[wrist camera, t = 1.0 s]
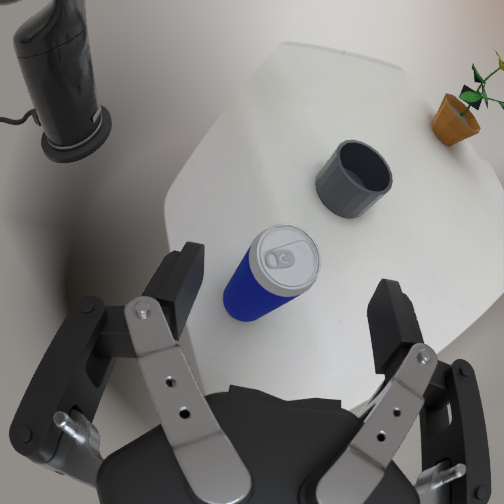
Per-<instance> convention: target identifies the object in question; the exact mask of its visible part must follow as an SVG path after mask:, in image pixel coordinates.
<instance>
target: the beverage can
mask: <svg viewBox="0 0 504 504" xmlns="http://www.w3.org/2000/svg"><path fill="white" fill-rule="evenodd" d="M320 267H321V256H320V251H319V249H318V246H317V244H316V242H315V241H314V239H313V238H312V237H311V236H310V235H309V234H308V233H307V232H306V231H304V230H303V229H301V228H299V227H297V226H294V225H290V224H280V225H276V226H273V227H271V228H269V229H266V230H264V231H263V232H261V233H260V234H259V235H258V236H257V237H256V238H255V239H254V241H253V243H252V244H251V246H250V248H249V249H248V251H247V253H246V254H245V256H244V258H243V259H242V261H241V263H240V264H239V266H238V268H237V269H236V271H235V273H234V275H233V276H232V278H231V280H230V281H229V283H228V285H227V286H226V288H225V290H224V294H223V302H224V306H225V308H226V310H227V312H228V313H229V314H230V315H231V316H232V317H234V318H235V319H237V320H240V321H244V322H249V321H254V320H256V319H258V318H260V317H262V316H264V315H265V314H267V313H269V312H271V311H273V310H274V309H276V308H278V307H280V306H282V305H283V304H285V303H287V302H289V301H290V300H292V299H294V298H296V297H297V296H299V295H301V294H302V293H304V292H306V291H307V290H308V289H310V287H311V286H312V285H313V284H314V282H315V281H316V278H317V276H318V273H319V271H320Z"/></svg>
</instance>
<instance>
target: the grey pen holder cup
mask: <svg viewBox="0 0 504 504" xmlns="http://www.w3.org/2000/svg"><path fill="white" fill-rule="evenodd" d="M392 183H393V181H392V173H391V170H390V168H389V166H388V164H387V162H386V161H385V159H384V158H383V157H382V156H381V155H380V154H379V153H378V152H377V151H376V150H375V149H374V148H372V147H371V146H369V145H367V144H365V143H363V142H361V141H356V140H346V141H344V142H342V143H340V144H339V146H338V147H337V149H336V150H335V151H334V153H333V154H332V156H331V157H330V158H329V160H328V161H327V163H326V164H325V165H324V167H323V168H322V170H321V171H320V173H319V174H318V176H317V179H316V190H317V193H318V195H319V197H320V199H321V201H322V202H323V203H324V205H325V206H326V207H327V208H328V209H329V210H331V211H332V212H333V213H335V214H337V215H339V216H341V217H345V218H356V217H359V216H360V215H362V214H363V213H364V212H365V211H367V210H368V209H369V208H370V207H371V206H372V205H373V204H375V203H376V202H377V201H378V200H379V199H380V198H381V197H382V196H384V195H385V194H386V193H387V192H388V191H389V190H390V189H391V186H392Z"/></svg>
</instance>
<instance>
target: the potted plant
mask: <svg viewBox="0 0 504 504" xmlns="http://www.w3.org/2000/svg"><path fill="white" fill-rule="evenodd" d="M496 53H497V52H496ZM497 55H498V54H497ZM498 57H499V68H498V69H497V70H499V69H502V70H504V62H503V61H502V60H501V58H500V56H499V55H498ZM472 69H473V70H474V79H475V82H479V83H481V85H480V86H479V88H478V89H477V91H476V92H475V91H474V90H472V89H471V88H469V87H467V86H466V85H464V86H463V89H462V91H461V94H460V96H459V98H460V99H462V100H463V101H465V102H466V103H468V104H469V106H468V107H466V106H465V105H464V104H463V103H462V102H460V101H459V100H458V99H457V98H456V97H455V96H453V95H450V94H447V93H446V95H445V97H444V99H443V101H442V104H441V106H440V108H439V110H438V112H437V114H436V116H435V119H434V121H433V123H432V130H433V131H434V133H435V135H436V136H437V137H438V138H439V139H440V140H441V141H442V142H443V143H444V144H446V145H448V146H450V145H453V144H455V143H457V142H459V141H462V140H464V139H466V138H468V137H471V136H473V135H475V134H477V133H479V131H480V126H479V124H478V123H477V121H476V119H475V117H474V116H473V114H472V113H471V112H470V111H469V108H470V106H472V107H474V108H475V109H477V110H479V107H480V104H481V101H482V98H484V99H485V103H486V106H487V107H488V101H487V100H488V99H489V100H494V99H490V98H487V95H486V93H485V89H484V87H485V83H486V82H485V81H486V80H487V79H488V78H489V77H490V76H491V75H493V74H494V73H495V72H497V70H496V71H494V72H493V73H491V74H490V75H489V76H488V77H487V78H486V79H485V80H483V79H482V77H481V76H480V75H479V74H478V72H477V70H476V68H475V66H474V64H473V65H472ZM483 83H484V87H483ZM481 86H482V93H480V92H479V89H480V88H481ZM482 94H483V96H482ZM494 101H498V100H494ZM498 102H499V104H500V105H501V106H502V108H503V109H504V102H501V101H498Z"/></svg>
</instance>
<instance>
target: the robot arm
mask: <svg viewBox="0 0 504 504" xmlns="http://www.w3.org/2000/svg"><path fill="white" fill-rule="evenodd" d="M19 1H21V0H0V5H9V4H13V3H16V2H19ZM13 45H14V49H15V53H16V55H17V59H18V62H19V65H20V68H21V71H22V74H23V77H24V80H25V83H26V86H27V89H28V92H29V94H30V97H31V100H32V102H33V105H34V108H35V109H32V110H30V111H28V112H27V113H26V114H25V115H24V117H23V118H22V119H20V120H12V119H9V118H5V117H0V122H5V123H8V124H12V125H19V124H22V123H24V122H25V121H26V120H27V118H28V117H29V116H30V115H32V116H33V119H34V121H35V123H36V124H38V125H39V126H41V125H42V128H43V130H44V132H45V135H46V137H47V141H48V143H49V145H50V146H51V147H52V148H53V149H54V150H57V151H72V150H75V149H78V148H80V147H82V146H84V145H86V144H87V143H89V142H90V141H91V140H92V139H93V138H94V137H95V136H96V135H97V134H98V133H99V131H100V129H101V127H102V124H103V117H102V113H101V106H99V101H98V96H97V91H96V85H95V79H94V73H93V67H92V61H91V54H90V47H89V39H88V31H87V20H86V10H85V0H52V1H51V2H50V3H49V4H48V5H47V6H46V7H44V8H43V9H42V10H40V11H39V12H38V13H36V14H35V15H33V16H32V17H31V18H29V19H28V20H27V21H26V22H24V23H23V24H22V25H21V26H20V27H19V29H18V30H17V31H16V32H15V34H14V36H13ZM203 275H204V244H199V243H193V242H188V241H187V242H186V244H185V245H184V247H183V249H182V251H181V252H179V251H172V252H171V253H169V254H168V255H167V256H165V258H164V259H163V261H162V263H161V264H160V266H159V267H158V269H157V271H156V273H155V274H154V276H153V277H152V279H151V280H150V282H149V284H148V285H147V287H146V289H145V291H144V292H143V294H142V296H140V297H136V298H134V299H132V300H130V301H129V302H128V303H127V305H126V306H105V305H104V303H103V301H102V300H101V299H100V298H98V297H96V296H86V297H83V298H81V299H79V300H78V301H77V302H76V303H75V304H74V305H73V307H72V308H71V310H70V312H69V314H68V315H67V316H66V318H65V320H64V322H63V323H62V325H61V326H60V328H59V330H58V331H57V333H56V335H55V337H54V339H53V340H52V342H51V344H50V346H49V347H48V349H47V351H46V353H45V354H44V356H43V358H42V360H41V362H40V364H39V366H38V368H37V370H36V372H35V374H34V375H33V377H32V380H31V382H30V384H29V386H28V388H27V390H26V392H25V394H24V396H23V399H22V401H21V403H20V405H19V407H18V410H17V412H16V414H15V417H14V419H13V421H12V424H11V426H10V431H9V438H10V441H11V444H12V446H13V447H14V449H15V450H16V451H17V452H18V453H20V454H21V455H23V456H25V457H27V458H29V459H30V460H31V461H32V462H34V463H36V464H38V465H40V466H42V467H44V468H46V469H48V470H51V471H54V472H56V473H59V474H61V475H67V476H69V477H71V478H73V479H75V480H77V481H79V482H81V483H84V484H86V485H89V486H91V487H93V488H96V489H97V493H98V497H99V501H100V504H487V503H488V501H489V498H490V495H491V471H490V458H489V449H488V440H487V432H486V426H485V420H484V414H483V408H482V404H481V398H480V394H479V389H478V385H477V381H476V377H475V373H474V370H473V368H472V366H471V365H470V364H469V363H468V362H467V361H465V360H462V359H457V360H455V361H454V362H453V363H452V364H451V365H449V364H446V363H444V362H441V361H439V360H437V356H436V353H435V352H434V350H433V349H432V348H431V347H429V346H428V345H426V344H424V341H423V337H422V334H421V331H420V327H419V324H418V321H417V320H416V319H417V317H416V314H415V313H414V308H413V305H412V302H411V301H410V299H409V298H408V297H407V295H406V294H404V293H402V291H401V288H400V285H399V282H398V281H393V280H388V279H382V280H381V281H380V282H379V284H378V286H377V288H376V290H375V292H374V294H373V296H372V298H371V300H370V302H369V304H368V309H367V317H368V323H369V330H370V336H371V342H372V349H373V357H374V364H375V372H376V374H385V379H384V380H383V382H382V383H381V384H380V386H379V387H378V389H377V390H376V392H375V393H374V394H373V396H372V397H371V398H370V400H369V401H368V403H367V404H366V405H365V407H364V408H363V409H362V410H361V412H360V413H359V414H358V415H357V416H356V415H354V414H353V413H351V412H350V411H347V410H345V409H343V408H341V400H333V399H322V398H310V399H302V400H293V401H285V400H282V399H280V398H277V397H274V396H272V395H269V394H267V393H264V392H262V391H260V390H256V389H250V388H244V387H239V386H234V385H230V387H229V392H218V393H213V394H209V395H206V396H204V395H203V393H202V391H201V389H200V388H199V385H198V383H197V381H196V379H195V377H194V375H193V373H192V371H191V369H190V367H189V364H188V362H187V360H186V358H185V356H184V354H183V351H182V349H181V347H180V346H179V345H177V344H176V343H175V340H177V341H179V338H180V336H181V333H182V331H183V328H184V326H185V323H186V321H187V318H188V316H189V313H190V311H191V308H192V306H193V303H194V301H195V299H196V296H197V294H198V291H199V289H200V286H201V284H202V280H203ZM118 357H128V358H130V357H132V358H137V359H138V362H139V365H140V368H141V371H142V374H143V377H144V380H145V383H146V386H147V389H148V391H149V394H150V397H151V399H152V402H153V405H154V407H155V410H156V412H157V415H158V417H159V419H160V422H161V424H160V425H158V426H157V427H155V428H153V429H152V430H150V431H148V432H147V433H145V434H144V435H142V436H140V437H139V438H137V439H135V440H134V441H132V442H130V443H129V444H127V445H125V446H124V447H122V448H120V449H118V450H117V451H115V452H113V453H112V454H110V455H109V456H108V457H107V458H105V459H104V460H103V459H102V457H101V455H100V452H99V443H100V436H99V432H98V430H97V429H96V427H95V426H94V425H92V421H93V419H94V416H95V413H96V410H97V408H98V405H99V402H100V400H101V397H102V394H103V392H104V389H105V387H106V384H107V382H108V379H109V377H110V374H111V372H112V370H113V367H114V365H115V362H116V360H117V358H118ZM449 403H450V406H451V413H452V421H451V424H450V425H449V417H448V409H447V405H448V404H449ZM418 414H419V416H420V429H421V451H422V473H421V474H420V475H419V476H418V478H417V482H416V483H415V484H414V485H412V484H411V483H410V481H409V480H408V479H407V478H406V476H405V475H404V474H403V473H402V471H401V470H400V469H399V467H398V466H397V465H396V464H395V463H394V461H393V460H392V458H393V456H394V455H395V453H396V452H397V450H398V449H399V447H400V445H401V444H402V442H403V440H404V439H405V437H406V435H407V434H408V432H409V430H410V428H411V427H412V425H413V423H414V421H415V419H416V417H417V416H418Z"/></svg>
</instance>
